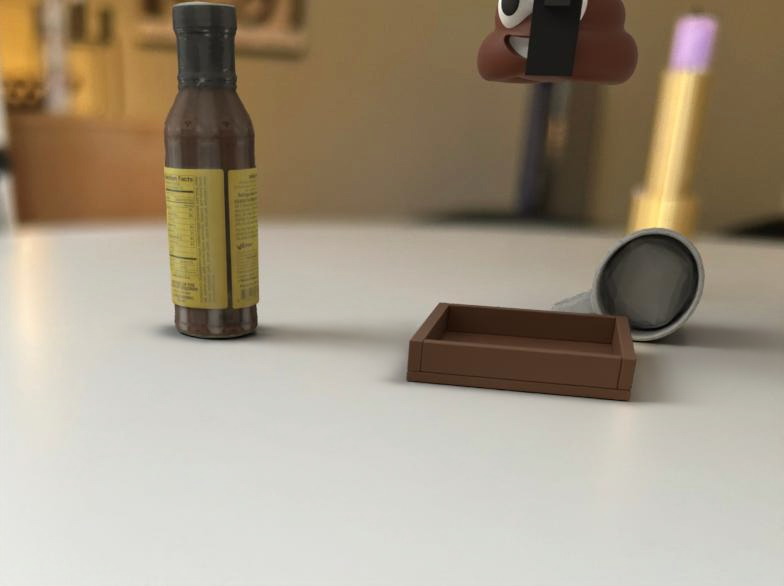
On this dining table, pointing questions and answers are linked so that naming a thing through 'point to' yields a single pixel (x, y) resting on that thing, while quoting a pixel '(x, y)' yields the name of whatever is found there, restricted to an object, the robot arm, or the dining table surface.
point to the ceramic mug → (645, 283)
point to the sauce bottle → (210, 180)
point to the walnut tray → (524, 351)
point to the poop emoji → (593, 51)
